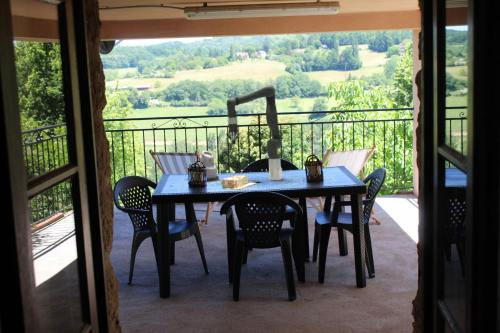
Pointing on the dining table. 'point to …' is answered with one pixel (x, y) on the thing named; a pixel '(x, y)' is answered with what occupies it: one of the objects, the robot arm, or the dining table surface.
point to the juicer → (208, 166)
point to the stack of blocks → (235, 181)
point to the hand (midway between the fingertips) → (233, 144)
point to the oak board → (242, 186)
